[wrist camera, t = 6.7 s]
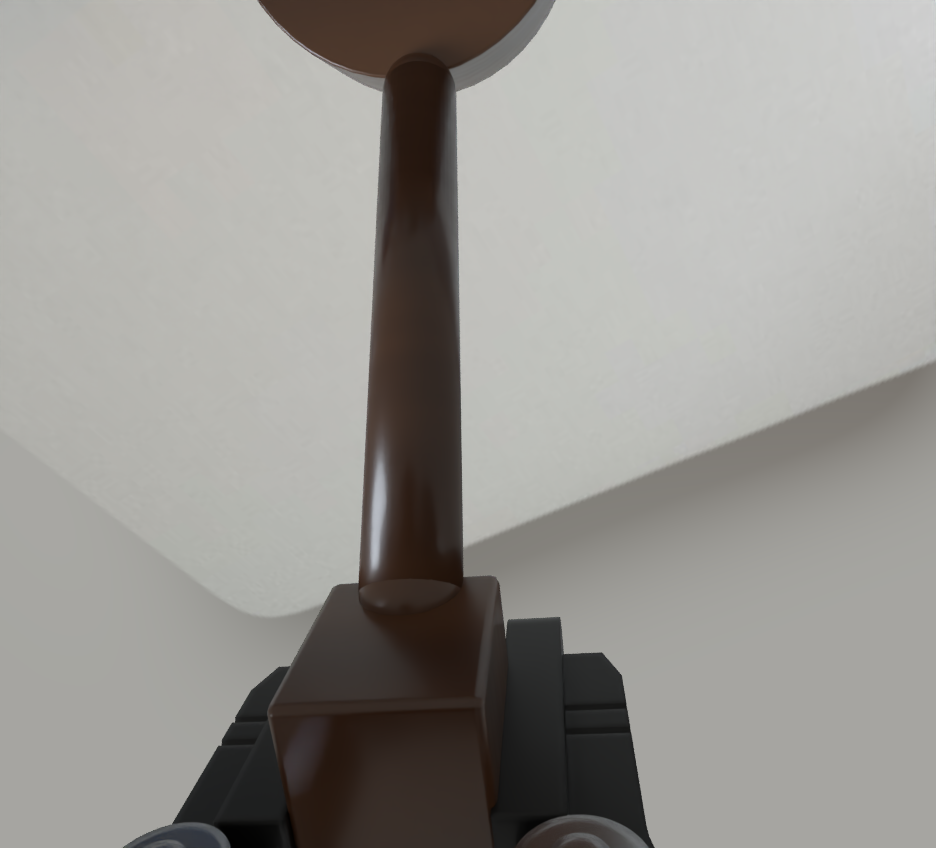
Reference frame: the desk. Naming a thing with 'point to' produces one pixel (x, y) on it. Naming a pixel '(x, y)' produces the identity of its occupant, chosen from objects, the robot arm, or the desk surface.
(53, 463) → the desk surface
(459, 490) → the brown disc on stem
